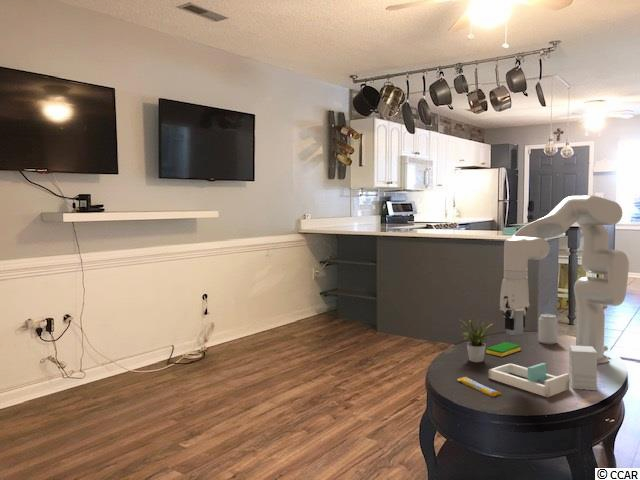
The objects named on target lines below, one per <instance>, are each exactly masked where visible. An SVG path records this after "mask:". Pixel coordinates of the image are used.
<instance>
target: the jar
mask: <svg viewBox="0 0 640 480" xmlns="http://www.w3.org/2000/svg"><path fill="white" fill-rule="evenodd" d="M508 308H509V309H510V307H508ZM523 310H524V307H523V308H518V309H515V310H514V314H513V318H514V330H508V329H506V334H508V335H511V336H522V335H524V328H523ZM508 312H509V313H510V311H509V310H508Z"/></svg>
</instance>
